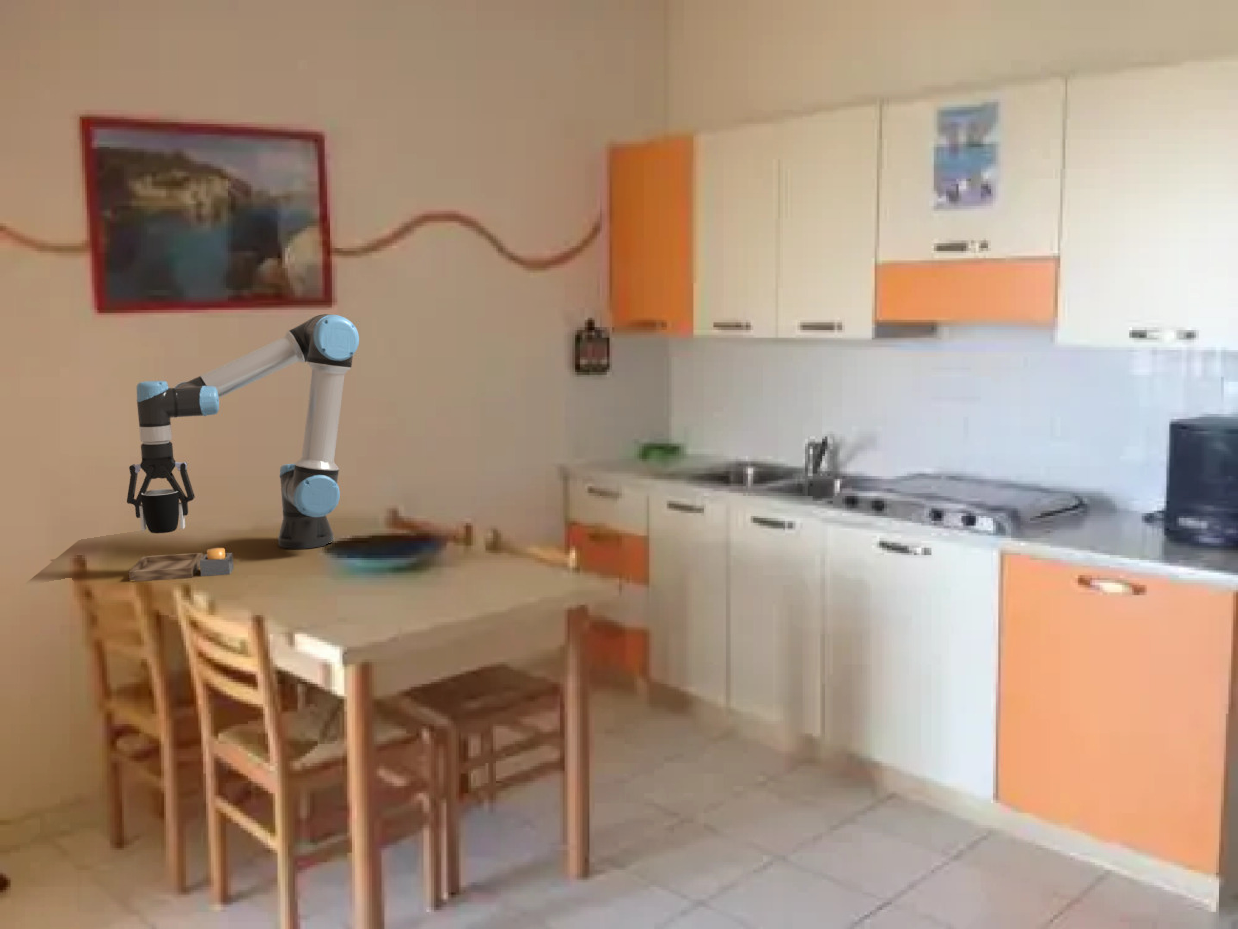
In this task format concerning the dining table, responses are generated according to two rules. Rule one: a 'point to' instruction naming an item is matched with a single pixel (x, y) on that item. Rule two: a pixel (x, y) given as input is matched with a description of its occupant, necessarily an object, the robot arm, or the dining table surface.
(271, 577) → the dining table surface
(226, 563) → the button housing
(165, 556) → the wooden tray
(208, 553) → the button
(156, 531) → the mug
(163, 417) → the robot arm
